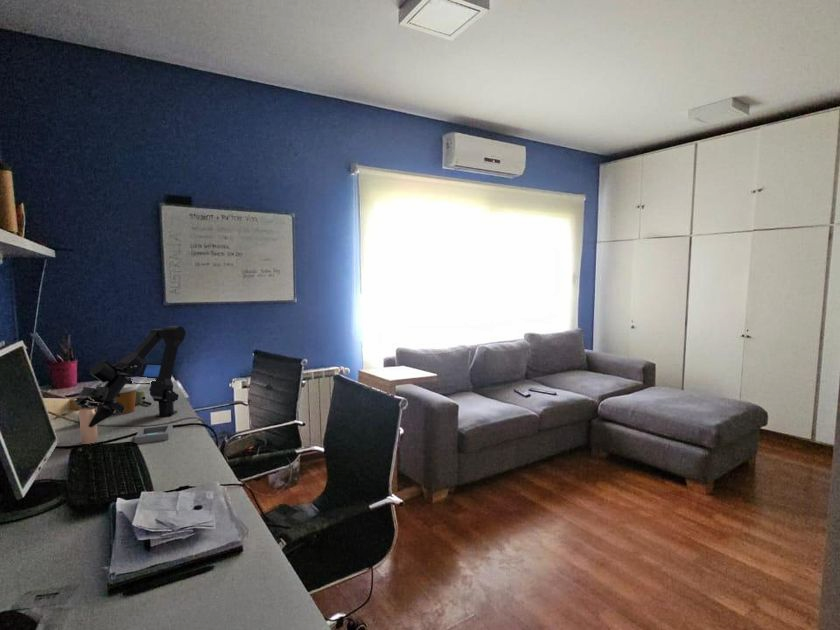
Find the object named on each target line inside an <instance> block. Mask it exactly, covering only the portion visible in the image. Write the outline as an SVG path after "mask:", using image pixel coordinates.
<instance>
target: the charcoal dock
mask: <svg viewBox="0 0 840 630" xmlns="http://www.w3.org/2000/svg"><path fill="white" fill-rule="evenodd" d="M173 431H174V429H173V423H172V424H170V423H169V424H162V425H154V426H153V425H152V426H147V427H141V428H140V429H139V430H138V431H137V433H136V435H135V436H134V444H135V443H138V444H143V443H144V444H146V443H152V442H153V441H154V442H161V441H168V440H170V437H171V436H172V435H171V434H172V433H173ZM154 442H153V443H154Z"/></svg>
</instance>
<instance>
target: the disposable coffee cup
mask: <svg viewBox="0 0 840 630" xmlns="http://www.w3.org/2000/svg"><path fill="white" fill-rule="evenodd" d="M136 389H138V385H137V383H132V384H125V386H124V387H123V389H122V390H121V391H120V393H119V394H120V395H121V396H120V397H116V398H115V400H116V401H118V402H119V403H121V404H122V405H124V406H125V410H124V412H123V413H122V414H130V412H131V413H133V412H135V409H136V403H135V400H136ZM122 414H121V415H122Z"/></svg>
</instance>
